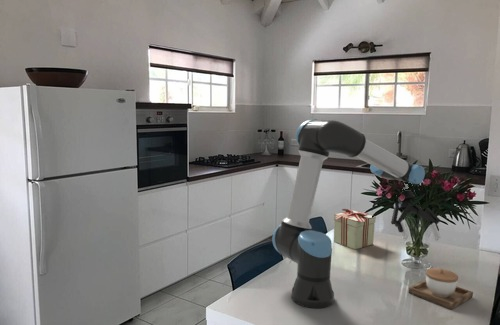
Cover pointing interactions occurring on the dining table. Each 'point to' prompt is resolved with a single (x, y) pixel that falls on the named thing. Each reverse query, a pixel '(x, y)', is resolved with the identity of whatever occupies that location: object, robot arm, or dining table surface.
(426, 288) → the walnut tray
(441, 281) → the lidded jar
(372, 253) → the dining table surface
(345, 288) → the dining table surface
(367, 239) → the gift box
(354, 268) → the dining table surface
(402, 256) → the dining table surface
